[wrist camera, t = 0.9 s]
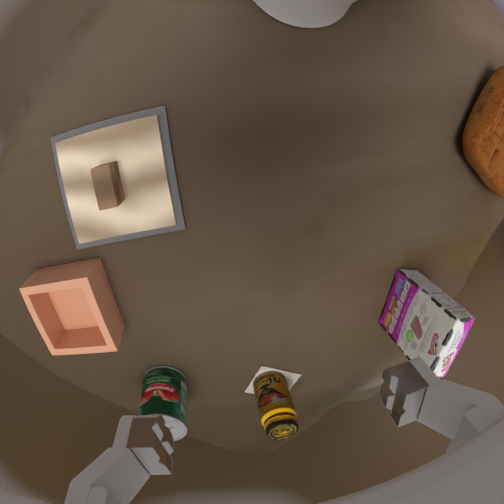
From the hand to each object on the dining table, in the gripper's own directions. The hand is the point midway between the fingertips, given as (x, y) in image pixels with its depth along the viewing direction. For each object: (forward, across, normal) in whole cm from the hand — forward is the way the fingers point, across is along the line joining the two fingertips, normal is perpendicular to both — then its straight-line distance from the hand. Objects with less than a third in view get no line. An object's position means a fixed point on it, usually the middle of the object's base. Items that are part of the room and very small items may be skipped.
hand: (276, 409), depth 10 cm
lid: (+30, +14, -8) cm, 34 cm away
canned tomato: (+35, +17, +26) cm, 47 cm away
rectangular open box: (+32, +26, +7) cm, 42 cm away
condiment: (+36, -2, +32) cm, 48 cm away
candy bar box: (+35, -26, +19) cm, 48 cm away
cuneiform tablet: (+33, -49, -10) cm, 60 cm away
